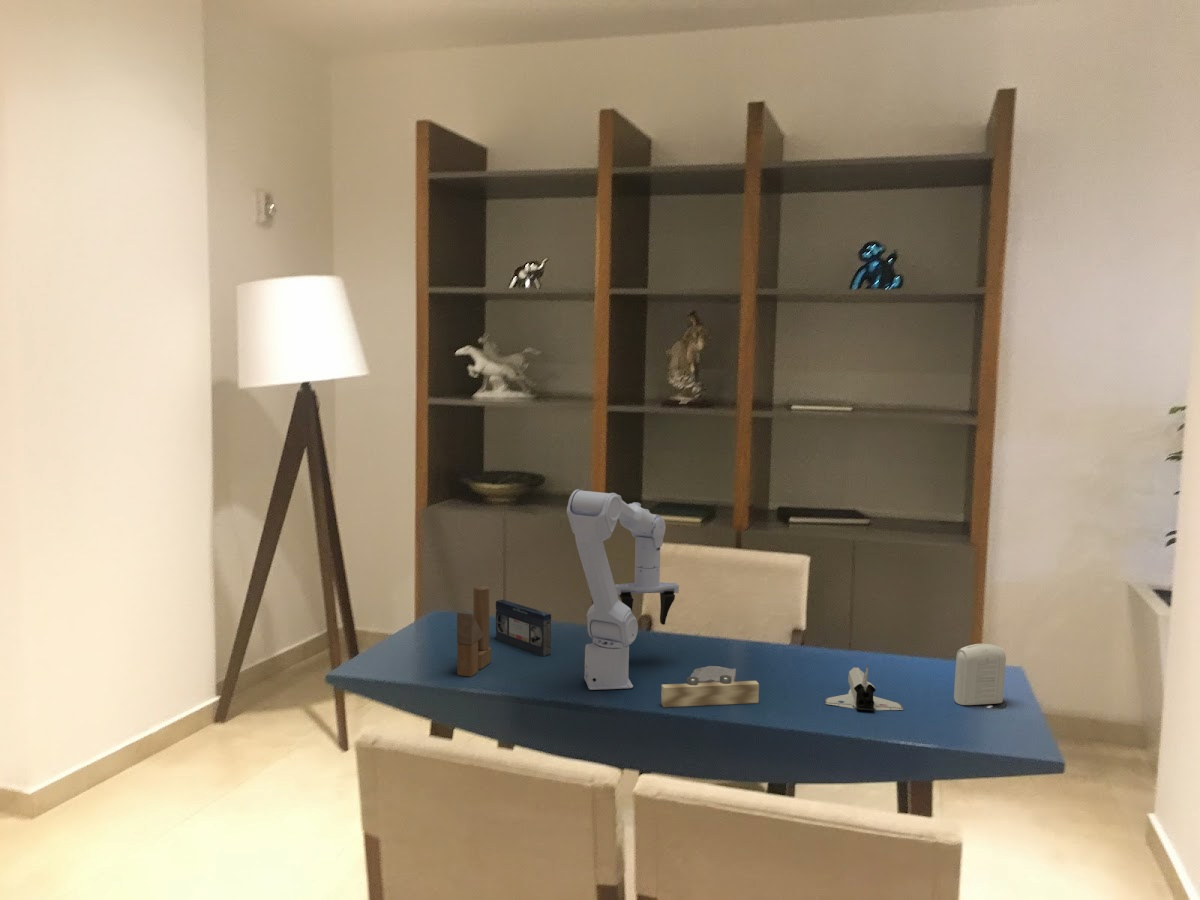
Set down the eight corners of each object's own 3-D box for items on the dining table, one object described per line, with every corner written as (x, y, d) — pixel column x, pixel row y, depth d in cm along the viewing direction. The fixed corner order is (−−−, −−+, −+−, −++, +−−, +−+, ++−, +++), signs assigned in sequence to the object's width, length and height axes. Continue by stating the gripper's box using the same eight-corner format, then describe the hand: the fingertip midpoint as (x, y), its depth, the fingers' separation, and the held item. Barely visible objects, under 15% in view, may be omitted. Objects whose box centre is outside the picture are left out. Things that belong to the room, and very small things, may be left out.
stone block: (689, 705, 197) (737, 699, 196) (685, 683, 197) (733, 677, 195) (693, 688, 209) (738, 682, 207) (690, 667, 209) (735, 661, 207)
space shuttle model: (888, 678, 212) (890, 635, 211) (906, 720, 188) (908, 671, 187) (818, 673, 215) (820, 630, 214) (826, 714, 190) (828, 665, 189)
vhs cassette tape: (495, 639, 235) (495, 600, 234) (504, 637, 237) (504, 598, 236) (541, 657, 221) (542, 616, 220) (551, 655, 223) (552, 614, 222)
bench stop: (663, 707, 191) (663, 683, 190) (659, 701, 194) (660, 677, 193) (758, 702, 194) (759, 679, 194) (753, 697, 197) (754, 674, 197)
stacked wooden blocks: (456, 675, 208) (456, 595, 206) (477, 660, 218) (477, 584, 216) (471, 677, 207) (472, 596, 205) (491, 662, 217) (492, 585, 215)
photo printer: (993, 697, 200) (996, 640, 199) (1006, 704, 196) (1009, 646, 194) (950, 700, 197) (953, 642, 196) (962, 707, 193) (965, 648, 192)
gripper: (674, 561, 220) (672, 618, 222) (613, 562, 218) (612, 620, 219) (681, 568, 214) (680, 626, 215) (618, 569, 211) (617, 628, 213)
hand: (646, 624), depth 217 cm, fingers open, 7 cm apart
